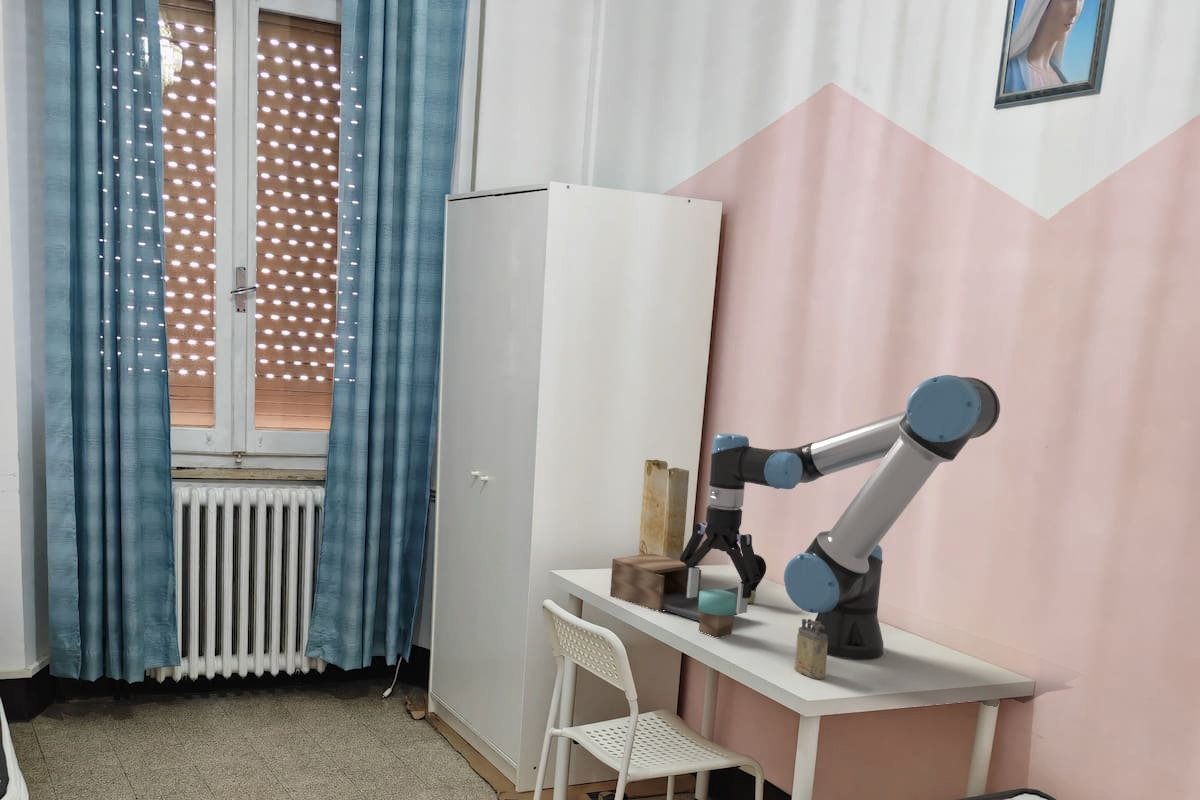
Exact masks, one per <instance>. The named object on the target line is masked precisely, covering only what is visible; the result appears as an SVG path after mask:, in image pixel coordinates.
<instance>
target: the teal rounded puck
mask: <svg viewBox="0 0 1200 800" xmlns="http://www.w3.org/2000/svg"><path fill="white" fill-rule="evenodd" d="M736 603H737V595H736V594H734V593H732V592H728V591H724V590H719V589H713V588H711V589H702V590H700V592H699V605H698V609H699V610H700V611H701V612H704V613H707V614H712V615H721V616H726V615H733V614H735V613H736Z"/></svg>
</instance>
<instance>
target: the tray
mask: <svg viewBox="0 0 1200 800" xmlns="http://www.w3.org/2000/svg"><path fill="white" fill-rule="evenodd" d="M738 586H739V585H738ZM738 586H737V585H736V586H735V585H734V586H730V587H725V588H720V589H718V590H724V591H728V592H732V593H734V594H736V595H737V597H738ZM698 605H699V598H696V597H692V598H687V595H686V594H683V593H680V592H675V593H670V594H665V595H663V604H662V609H663V610H666V611H667V612H670V613H673V614H676V615H679V616H683V617H685V618H688V619H691V620H695V621H696V622H697V621H698V622H699V621H700V610H699V609H698ZM736 608H737V603H736ZM666 611H665V612H666ZM737 615H738V614H737V613H735V614H733V617H734V616H737Z"/></svg>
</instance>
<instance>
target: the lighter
mask: <svg viewBox="0 0 1200 800" xmlns="http://www.w3.org/2000/svg"><path fill="white" fill-rule="evenodd" d="M806 625H807V626H806ZM812 626H813V628H814V629H813V628H812ZM820 628H821V629H824V628H825V626H824V625H822V624H821V622H819V621H815V620H812V619H810V618H809V619H806V618H802V619H801V626H800V627H798V630H797V631H798V632H797V637H796V648H795V649H796V650H795V661H794V667H793V668H794V670H795V671H796V672H799V673H800V675H805V676H807V677H808V678H811V679H818V680H823V679H826V669H827V658H828V657H827V656H828V654H827V647H828V641H827V638H828V636H827V635H826V634H824V633H822V632H820V631H819V629H820Z"/></svg>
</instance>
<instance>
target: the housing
mask: <svg viewBox="0 0 1200 800" xmlns="http://www.w3.org/2000/svg"><path fill="white" fill-rule="evenodd" d="M611 564H612V565H611V576H610V577H611V579H610V591H609V597H612V598H615V597H616V598H615V599H618V598H619V600H621V599H622V601H624V600H625V601H624V602H627V601H628V603H630V602H632V603H631V604H634V603H635V604H634V605H637V604H638V605H637V606H640V605H641V606H640V607H643V606H644V607H643V608H646V607H648V608H647V609H649V608H650V609H649V610H652V609H654V610H653V611H655V610H658V611H661V612H664V611H663V609H662V604H663V595H665V594H670V593H675V592H680V593H683V594H686V595H687V586H688V581H686V572H687V566H686V564H685V563H684V562H681V561H679V560H675V559H671V558H668V557H664V556H660V555H657V554H653V553H651V554H644V555H631V556H624V557H617V558H612V563H611ZM701 577H702V569H700V570H699V581H698V593H697V597H696V598H699V592H700V591H701V580H702V578H701ZM658 611H657V612H658Z"/></svg>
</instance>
